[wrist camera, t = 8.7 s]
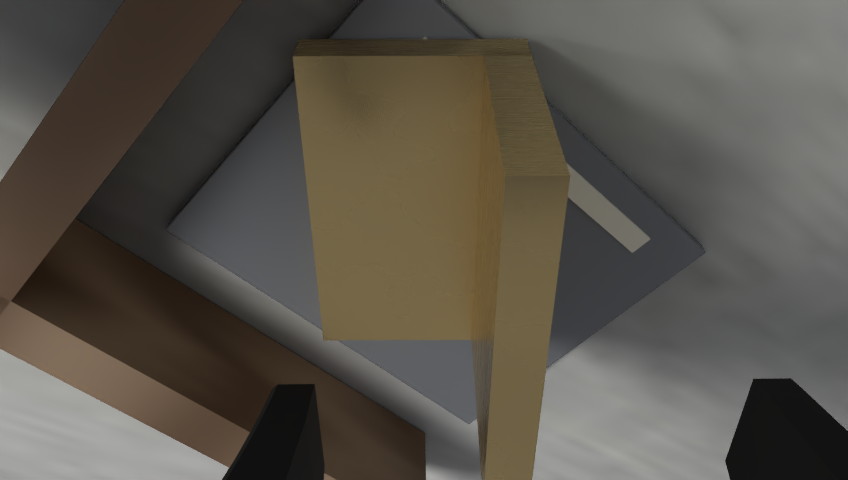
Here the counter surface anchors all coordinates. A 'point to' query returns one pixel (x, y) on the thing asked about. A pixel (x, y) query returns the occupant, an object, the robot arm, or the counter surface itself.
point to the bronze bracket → (439, 211)
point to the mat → (429, 359)
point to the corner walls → (153, 274)
